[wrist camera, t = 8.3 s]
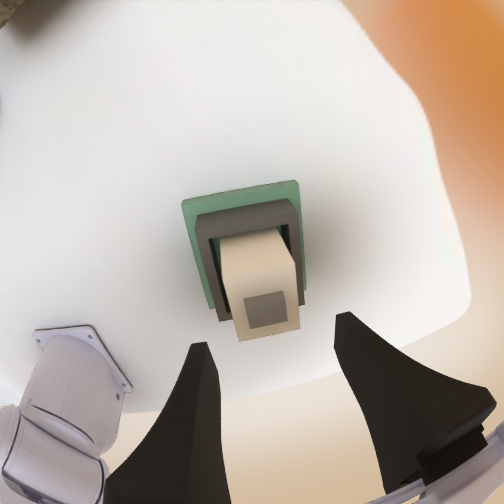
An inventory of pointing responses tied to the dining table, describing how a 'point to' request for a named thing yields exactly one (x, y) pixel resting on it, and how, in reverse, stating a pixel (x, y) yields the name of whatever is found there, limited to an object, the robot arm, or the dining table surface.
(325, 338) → the dining table surface
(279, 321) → the plug
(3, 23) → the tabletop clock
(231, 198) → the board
